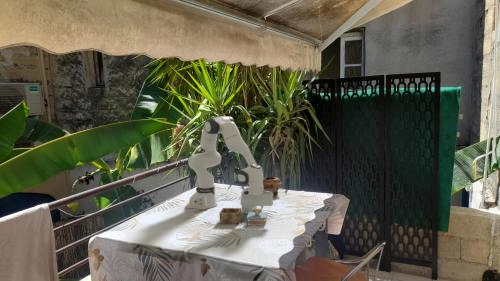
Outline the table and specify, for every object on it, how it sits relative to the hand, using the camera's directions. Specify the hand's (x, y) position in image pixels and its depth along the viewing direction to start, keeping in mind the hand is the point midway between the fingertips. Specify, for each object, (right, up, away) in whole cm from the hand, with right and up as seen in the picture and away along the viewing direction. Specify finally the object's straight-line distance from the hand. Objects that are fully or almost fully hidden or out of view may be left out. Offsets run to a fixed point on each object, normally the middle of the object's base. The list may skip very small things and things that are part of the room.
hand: (257, 212), depth 219 cm
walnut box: (-17, -6, +3) cm, 18 cm away
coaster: (0, -6, +1) cm, 6 cm away
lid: (0, -4, 0) cm, 4 cm away
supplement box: (-5, -4, +21) cm, 22 cm away
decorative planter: (+11, +1, +57) cm, 58 cm away
